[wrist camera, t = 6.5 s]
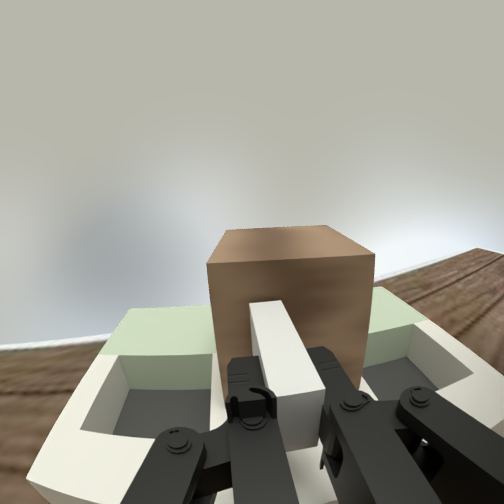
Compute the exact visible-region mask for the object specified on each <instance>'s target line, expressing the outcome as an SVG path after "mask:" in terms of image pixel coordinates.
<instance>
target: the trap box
mask: <svg viewBox="0 0 504 504" xmlns="http://www.w3.org/2000/svg"><path fill="white" fill-rule="evenodd" d="M414 386H422V387H427V388H429V389H431V390H433V391H435V392H436V393H438V394H439V395H441V396H442V397H444V398H445V399H447V400H448V401H450V402H451V403H452V404H454V405H455V406H457V407H458V408H460V409H461V410H463V411H464V412H466V413H467V414H469V415H470V416H472V417H473V418H475V419H476V420H478V421H479V422H481V423H482V424H484V425H485V426H487V427H488V428H490V429H491V430H493V431H494V432H496V433H497V434H499V435H500V436H502V437H503V438H504V376H503V375H502V374H500V373H499V372H498V371H497V370H495V369H494V368H493V367H492V366H490V365H489V364H488V363H486V362H485V361H484V360H483V359H481V358H480V357H479V356H477V355H476V354H475V353H473V352H472V351H471V350H470V349H468V348H467V347H466V346H464V345H463V344H462V343H460V342H459V341H458V340H456V339H455V338H454V337H452V336H451V335H450V334H448V333H447V332H445V331H444V330H443V329H441V328H440V327H439V326H437V325H436V324H434V323H433V322H432V321H430V320H429V319H428V318H426V317H425V316H423V315H422V314H421V313H419V312H418V311H416V310H415V309H413V308H412V307H411V306H409V305H408V304H406V303H405V302H404V301H402V300H401V299H399V298H398V297H396V296H395V295H393V294H392V293H391V292H389V291H388V290H386V289H385V288H383V287H382V286H381V287H374V288H373V295H372V305H371V315H370V324H369V332H368V339H367V346H366V353H365V359H364V365H363V371H362V376H361V382H360V387H359V390H361V391H363V392H366V393H368V394H369V395H370V396H371V397H372V398H373V399H374V400H378V401H386V400H399V398H400V396H401V393H402V392H403V391H404V390H405V389H407V388H410V387H414ZM226 420H227V413H226V409H225V404H224V398H223V392H222V385H221V378H220V372H219V365H218V358H217V350H216V343H215V335H214V327H213V319H212V311H211V305H199V306H198V305H197V306H181V307H160V308H134V309H130V310H129V311H128V312H127V314H126V315H125V316H124V318H123V319H122V321H121V322H120V324H119V325H118V326H117V328H116V329H115V331H114V332H113V333H112V335H111V336H110V338H109V339H108V341H107V342H106V344H105V345H104V347H103V348H102V350H101V351H100V353H99V354H98V356H97V357H96V359H95V360H94V362H93V363H92V365H91V366H90V368H89V369H88V371H87V372H86V374H85V376H84V377H83V379H82V380H81V382H80V383H79V385H78V387H77V388H76V390H75V391H74V393H73V395H72V396H71V398H70V400H69V401H68V403H67V405H66V406H65V408H64V410H63V411H62V413H61V415H60V416H59V418H58V420H57V421H56V423H55V425H54V427H53V428H52V430H51V432H50V434H49V435H48V437H47V439H46V441H45V443H44V445H43V446H42V448H41V450H40V452H39V454H38V456H37V458H36V460H35V461H34V463H33V465H32V467H31V469H30V471H29V473H28V475H27V477H26V479H27V480H28V482H29V483H30V484H31V485H32V486H33V487H34V488H35V489H36V490H37V491H38V492H39V493H40V494H41V495H42V496H43V497H44V498H45V499H46V500H47V501H48V502H50V503H51V504H120V502H121V501H122V499H123V497H124V495H125V493H126V492H127V490H128V488H129V486H130V484H131V482H132V481H133V479H134V477H135V475H136V473H137V472H138V470H139V468H140V466H141V464H142V462H143V461H144V459H145V457H146V455H147V453H148V451H149V450H150V448H151V446H152V444H153V442H154V441H155V439H156V438H157V436H158V435H159V434H160V433H161V432H163V431H165V430H167V429H170V428H174V427H187V428H190V429H193V430H195V431H196V432H198V433H199V434H200V433H204V432H207V431H211V430H213V429H216V428H218V427H219V426H221V425H222V424H223V423H224V422H225V421H226ZM423 441H424V442H426V441H425V440H424V439H423ZM426 443H427V442H426ZM322 449H323V446H322V443H321V441H320V438H319V441H318V446H317V447H312V448H307V449H302V450H296V451H290V452H286V455H287V459H288V462H289V466H290V470H291V474H292V478H293V481H294V485H295V489H296V493H297V496H298V500H299V504H339V503H338V500H337V497H336V494H335V492H334V489H333V486H332V484H331V481H330V478H329V476H328V473H327V470H326V467H325V465H324V467H323V469H322V470H320V466H319V464H320V459H321V454H322ZM214 504H234V498H233V488H230V489H226V490H223V491H220V492H217V496H216V499H215V503H214Z"/></svg>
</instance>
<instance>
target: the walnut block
mask: <svg viewBox="0 0 504 504" xmlns="http://www.w3.org/2000/svg"><path fill="white" fill-rule="evenodd" d="M374 267H375V254H374V253H373V252H371V251H369V250H367V249H366V248H364V247H363V246H361V245H359V244H357V243H356V242H354V241H353V240H351V239H349V238H347V237H346V236H344V235H342V234H341V233H339V232H337V231H335V230H334V229H332V228H330V227H328V226H327V225H322V226H321V225H319V226H295V227H274V228H254V229H237V230H226V232H225V233H224V235H223V237H222V238H221V240H220V242H219V243H218V245H217V247H216V248H215V250H214V252H213V253H212V255H211V257H210V258H209V260H208V262H207V274H208V283H209V292H210V302H211V311H212V319H213V327H214V335H215V343H216V350H217V358H218V365H219V372H220V378H221V385H222V392H223V398H224V404H225V400H226V396H227V395H228V380H227V365H228V364H229V362H230V360H231V359H232V358H236V357H248V356H253V353H252V339H251V324H250V309H249V303H258V302H268V301H278V300H281V301H282V303H283V305H284V307H285V309H286V311H287V313H288V315H289V317H290V319H291V321H292V323H293V325H294V327H295V329H296V331H297V333H298V335H299V337H300V339H301V341H302V343H303V345H304V347H305V349H306V348H313V347H319V346H324V347H325V348H327V349H329V350H330V351H332V352H333V354H334V355H335V357H336V358H337V361H339V363H340V365H341V367H342V368H343V369H344V371H345V372H346V374H347V376H348V377H349V379H350V380H351V382H352V383H353V385H354V386H355V388H356V390H359V387H360V382H361V376H362V371H363V365H364V359H365V353H366V346H367V339H368V332H369V324H370V315H371V305H372V295H373V283H374ZM225 409H226V407H225Z"/></svg>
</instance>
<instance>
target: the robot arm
mask: <svg viewBox="0 0 504 504" xmlns="http://www.w3.org/2000/svg"><path fill="white" fill-rule="evenodd" d="M249 309H250V324H251V339H252V353H253V356H248V357H236V358H232V359H231V360H230V362H229V364H228V365H227V380H228V395H227V396H226V400H225V407H226V413H227V420H226V421H225V422H224V423H223V424H222V425H221V426H219V427H218V428H216V429H213V430H211V431H207V432H204V433H200V434H199V433H198V432H196V431H195V430H193V429H190V428H187V427H174V428H170V429H167V430H165V431H163V432H161V433H160V434H159V435H158V436H157V438H156V439H155V441H154V442H153V444H152V446H151V448H150V450H149V451H148V453H147V455H146V457H145V459H144V461H143V462H142V464H141V466H140V468H139V470H138V472H137V473H136V475H135V477H134V479H133V481H132V482H131V484H130V486H129V488H128V490H127V492H126V493H125V495H124V497H123V499H122V501H121V502H120V504H214V503H215V499H216V496H217V492H220V491H223V490H226V489H230V488H233V498H234V504H299V500H298V496H297V493H296V489H295V485H294V481H293V478H292V474H291V470H290V466H289V462H288V459H287V455H286V452H290V451H296V450H302V449H307V448H312V447H317V446H318V441H319V438H320V441H321V443H322V446H323V449H322V454H321V459H320V464H319V466H320V470H322V469H323V467H324V465H325V467H326V470H327V473H328V476H329V478H330V481H331V484H332V486H333V489H334V492H335V494H336V497H337V500H338V503H339V504H504V438H503V437H502V436H500V435H499V434H497V433H496V432H494V431H493V430H491V429H490V428H488V427H487V426H485V425H484V424H482V423H481V422H479V421H478V420H476V419H475V418H473V417H472V416H470V415H469V414H467V413H466V412H464V411H463V410H461V409H460V408H458V407H457V406H455V405H454V404H452V403H451V402H450V401H448V400H447V399H445V398H444V397H442V396H441V395H439V394H438V393H436V392H435V391H433V390H431V389H429V388H427V387H422V386H414V387H410V388H407V389H405V390H404V391H403V392H402V393H401V396H400V398H399V400H386V401H378V400H374V399H373V398H372V397H371V396H370V395H369V394H368V393H366V392H363V391H361V390H356V388H355V386H354V385H353V383H352V382H351V380H350V379H349V377H348V376H347V374H346V372H345V371H344V369H343V368H342V367H341V365H340V363H339V361H337V358H336V357H335V355H334V354H333V352H332V351H330V350H329V349H327V348H325V347H324V346H319V347H313V348H306V349H305V347H304V345H303V343H302V341H301V339H300V337H299V335H298V333H297V331H296V329H295V327H294V325H293V323H292V321H291V319H290V317H289V315H288V313H287V311H286V309H285V307H284V305H283V303H282V301H281V300H278V301H268V302H258V303H249ZM423 439H424V440H425V441H426V442H427V443H426V442H424V441H423Z"/></svg>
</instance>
